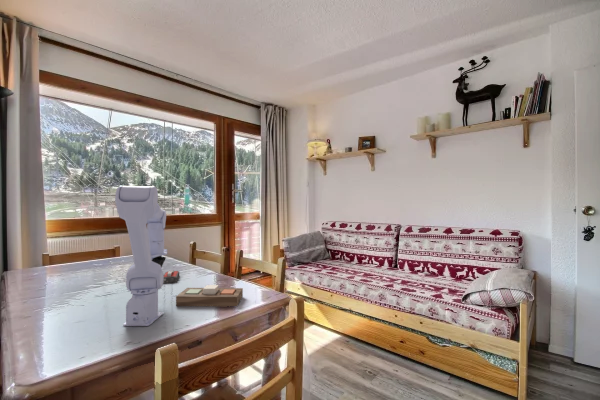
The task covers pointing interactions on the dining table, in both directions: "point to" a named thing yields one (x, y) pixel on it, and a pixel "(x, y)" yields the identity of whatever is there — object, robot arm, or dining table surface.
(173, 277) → the walkie-talkie
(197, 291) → the key sage
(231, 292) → the key rust
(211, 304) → the wooden tray
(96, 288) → the dining table surface
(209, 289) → the key cream
